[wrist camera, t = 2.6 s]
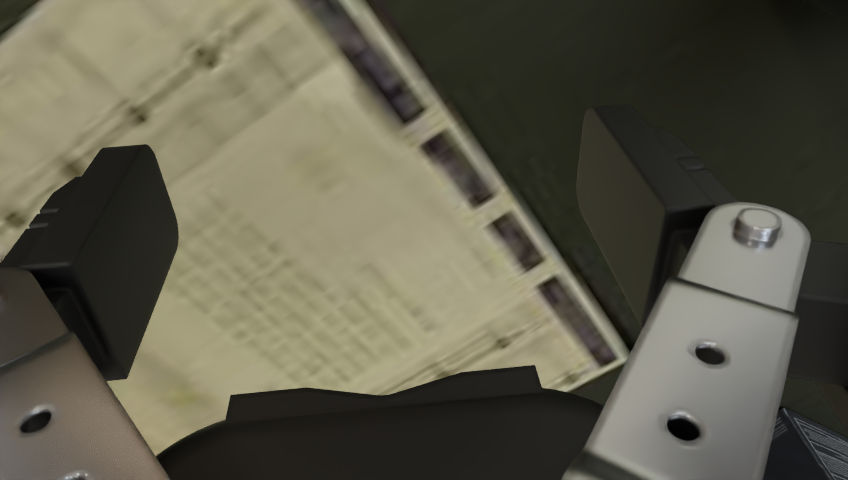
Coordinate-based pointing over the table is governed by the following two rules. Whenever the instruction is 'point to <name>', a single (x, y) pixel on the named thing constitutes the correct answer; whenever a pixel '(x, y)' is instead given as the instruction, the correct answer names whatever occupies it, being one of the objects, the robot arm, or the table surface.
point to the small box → (805, 450)
